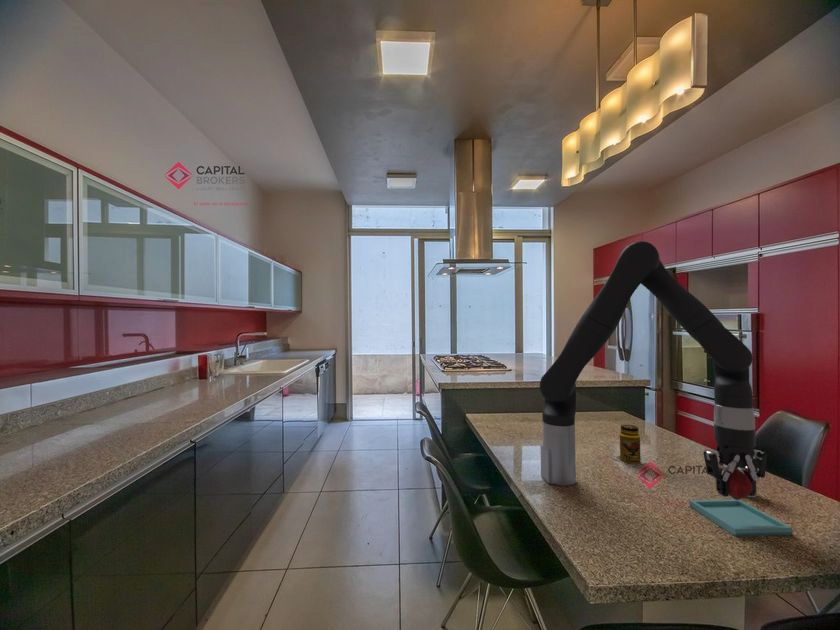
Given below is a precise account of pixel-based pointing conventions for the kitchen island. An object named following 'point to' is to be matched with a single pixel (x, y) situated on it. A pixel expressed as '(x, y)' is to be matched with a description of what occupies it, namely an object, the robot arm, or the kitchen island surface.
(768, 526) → the tray
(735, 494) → the dark red rounded piece
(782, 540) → the kitchen island surface
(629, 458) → the condiment
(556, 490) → the kitchen island surface
